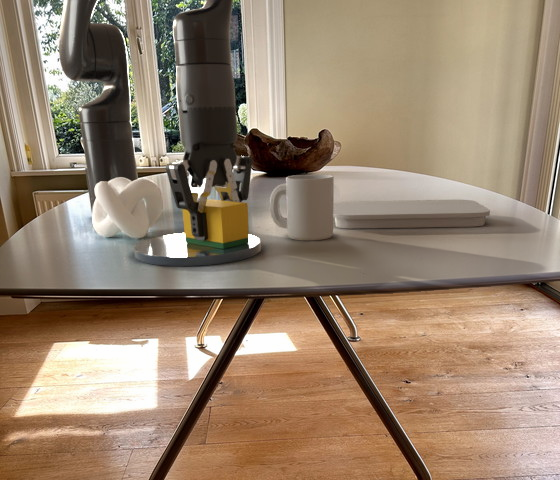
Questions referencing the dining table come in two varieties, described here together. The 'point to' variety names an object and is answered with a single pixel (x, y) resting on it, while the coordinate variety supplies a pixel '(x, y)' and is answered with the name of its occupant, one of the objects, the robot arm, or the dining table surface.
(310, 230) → the cup
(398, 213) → the grey flat slab
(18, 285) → the dining table surface
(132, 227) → the white knot sculpture
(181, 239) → the plate
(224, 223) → the sponge
